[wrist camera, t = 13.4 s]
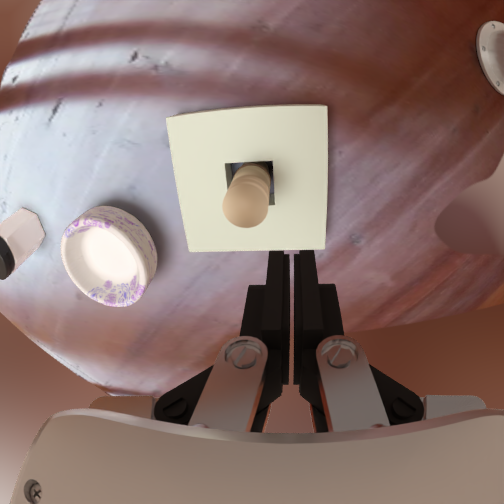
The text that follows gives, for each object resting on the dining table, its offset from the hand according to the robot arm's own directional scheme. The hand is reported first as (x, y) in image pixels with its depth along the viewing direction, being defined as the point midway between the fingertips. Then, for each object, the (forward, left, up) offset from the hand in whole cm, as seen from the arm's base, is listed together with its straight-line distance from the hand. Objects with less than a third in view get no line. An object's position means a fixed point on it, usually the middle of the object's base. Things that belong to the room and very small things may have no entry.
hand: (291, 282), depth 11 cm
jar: (+48, +9, -28) cm, 56 cm away
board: (+4, +4, -27) cm, 28 cm away
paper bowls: (+26, +13, -28) cm, 40 cm away
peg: (+4, +3, -27) cm, 28 cm away
